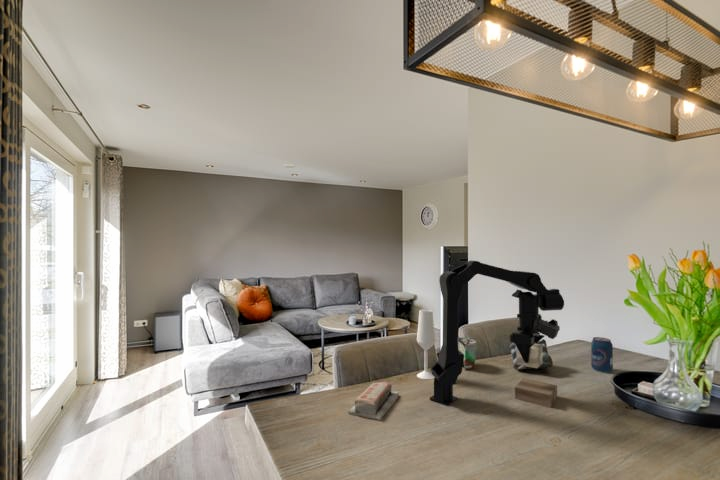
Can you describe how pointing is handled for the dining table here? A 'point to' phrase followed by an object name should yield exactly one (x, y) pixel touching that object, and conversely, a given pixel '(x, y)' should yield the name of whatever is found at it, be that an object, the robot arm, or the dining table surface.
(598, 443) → the dining table surface
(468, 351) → the food container
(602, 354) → the soda can
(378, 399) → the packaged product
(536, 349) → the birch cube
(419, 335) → the champagne flute
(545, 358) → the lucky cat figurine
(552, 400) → the walnut block
